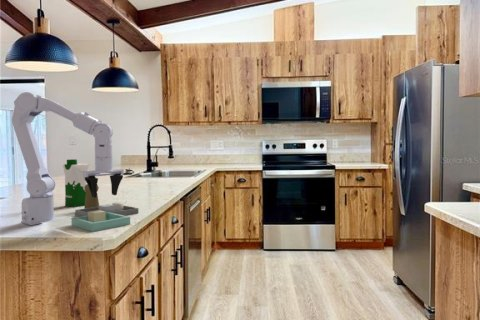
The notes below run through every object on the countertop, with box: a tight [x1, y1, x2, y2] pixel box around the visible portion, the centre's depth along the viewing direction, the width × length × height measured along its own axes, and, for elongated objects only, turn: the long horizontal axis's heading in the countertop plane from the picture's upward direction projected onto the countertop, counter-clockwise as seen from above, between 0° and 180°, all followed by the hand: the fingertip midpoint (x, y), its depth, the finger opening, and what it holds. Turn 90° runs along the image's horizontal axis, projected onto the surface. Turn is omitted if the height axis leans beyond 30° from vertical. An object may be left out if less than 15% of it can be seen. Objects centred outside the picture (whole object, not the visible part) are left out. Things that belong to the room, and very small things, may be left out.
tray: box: [74, 204, 139, 217], centre depth 143 cm, size 17×15×2 cm
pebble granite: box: [111, 201, 124, 212], centre depth 146 cm, size 4×4×4 cm
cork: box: [83, 184, 100, 209], centre depth 152 cm, size 6×6×11 cm
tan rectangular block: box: [88, 210, 106, 222], centre depth 126 cm, size 4×4×4 cm
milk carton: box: [62, 159, 90, 208], centre depth 166 cm, size 9×9×20 cm
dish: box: [70, 212, 131, 233], centre depth 125 cm, size 13×13×3 cm
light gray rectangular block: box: [99, 203, 115, 213], centre depth 138 cm, size 4×4×4 cm
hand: (104, 196), depth 135 cm, fingers open, 7 cm apart
